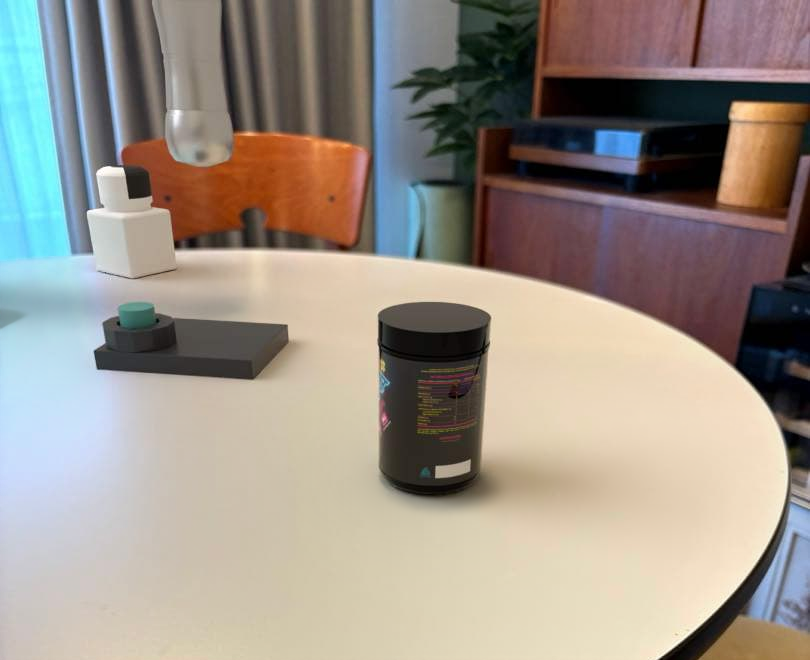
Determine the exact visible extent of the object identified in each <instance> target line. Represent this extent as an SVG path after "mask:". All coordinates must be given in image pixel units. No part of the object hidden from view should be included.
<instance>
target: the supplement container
mask: <svg viewBox="0 0 810 660" xmlns="http://www.w3.org/2000/svg"><path fill="white" fill-rule="evenodd" d="M491 329H492V316H491V314H490V313H489V312H487V311H486V310H483V309H481V308H479V307H475V306H473V305H468V304H463V303H457V302H447V301H415V302H413V301H412V302H406V303H405V302H404V303H399V304H394V305H391V306H388V307H386V308H383V309H381V310H380V311H379V312H378V313H377V340H376V342H377V347H378V349H377V350H378V353H377V354H378V356H377V357H378V469H379V472H380V474H381V476H382V477H383V479H384V480H385V481H386V482H387V483H388V484H389V483H390V484H389V485H390V486H392V487H394V486H395V487H396V488H395V487H394V488H395V489H397V488H398V490H400V491H402V490H404V491H403V492H405V491H408V492H407V493H409V492H412V493H411V494H414V493H417V494H416V495H421V494H443V495H447V494H446V493H450V494H452V493H451V492H454V493H457V492H456V491H458V490H460V491H463V490H465V489H466V487H467V488H469V487H470V486H471V485H473V483H474V482H475V481H476V480H477V479H478V477H479V475H480V474H481V471H482V459H483V458H482V457H483V444H484V442H483V441H484V429H485V428H484V427H485V414H486V413H485V412H486V398H487V397H486V395H487V383H488V365H489V350H490V347H491ZM469 485H470V486H469ZM464 488H465V489H464ZM462 489H463V490H462ZM458 492H459V491H458Z"/></svg>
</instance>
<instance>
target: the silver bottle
mask: <svg viewBox="0 0 810 660" xmlns="http://www.w3.org/2000/svg"><path fill="white" fill-rule="evenodd" d="M151 5H152V9H153V13H154V19H155V22H156V27H157V31H158V36H159V41H160V48H161V54H162V56H163V60H162V61H163V67H164V80H165V81H164V82H165V106H166V112H165V117H164V118H165V119H164V135H165V136H164V138H165V141H166V145H167V149H168V152H169V154H170V156H171V157H172V159H173V160H174V161H175V162H178V163H183V164H185V165H189V166H194V167H196V168H209V167H212V166H216V165H218V164H222V163H225V162H228V161H230V159H231V157H232V156H233V153H234V147H235V146H234V145H235V134H234V133H235V132H234V129H233V123H232V119H231V116H230V115H231V114H230V113H229V112H228V109H229V108H228V102H227V95H226V88H225V82H224V75H223V62H222V61H223V60H222V57H221V56H222V37H221V36H222V13H223V3H222V0H151Z"/></svg>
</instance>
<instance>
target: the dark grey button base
mask: <svg viewBox="0 0 810 660" xmlns="http://www.w3.org/2000/svg"><path fill="white" fill-rule="evenodd" d="M155 316H156V323H157V324H156V325H152V326H148V327H140V328H128V327H121V325H120V319H119V315H116V316H112V317H109V318H108V319H106V320H104V321H102V323H101V324H102V325H101V326H102V330H103V337H104V343H102V345H100V346H98V347H97V348H95V349H94V350H93V356H94V357H93V358H94V362H95V368H96V370H101V371H118V372H130V373H131V372H133V373H146V374H147V373H148V374H163V375H177V376H190V377H191V376H192V377H205V378H206V377H207V378H219V379H220V378H221V379H235V380H236V379H237V380H251V381H252V380H254V379H255V378H256V377H257V376H258V375H259V374H260V373H261V371H263V370H264V368H266V367H267V366H268V364H269V363H271V362H272V360H274V358H275V357H276V356H277V355H278V354H279V353H280V352H281V351H282V350H283V348H285V346H286V345H287V344H288V343H289V342H290V339H289V324H286V323H269V322H253V321H251V322H250V321H237V320H236V321H233V320H216V319H201V318H200V319H198V318H182V317H172V316H170V315H167V314H164V313H159V312H155Z"/></svg>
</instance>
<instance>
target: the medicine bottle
mask: <svg viewBox="0 0 810 660" xmlns="http://www.w3.org/2000/svg"><path fill="white" fill-rule="evenodd" d="M95 175H96V176H95V177H96V182H97V183H96V184H97V188H98V195H99V200H100V204H101V205H103V207H100V208H94V209H89V210H87V212H86V218H87V223H88V224H87V225H88V230H89V235H90V240H91V248H92V253H93V257H94V264H95V265H94V266H95V269H96V271H98V272H102V273H105V272H106V274H110V275H113V276H114V275H115V276H118V275H119V276H120V277H122V278H128V279H137V278H138V279H139V278H141V277H147V276H150V275H155V274H160V273H164V272H169V271H173V270H174V271H175V270H176V269H177V259H176V250H175V242H174V235H173V234H174V233H173V228H172V227H173V225H172V217H171V212H170V210H169V209H167V208H162V207H161V208H160V207H155V206H151V204H152V203H153V202H154V200H153V193H152V192H153V191H152V186H151V178H150V177H151V176H150V172H149V171H148V170H147V169H146V168H144V167H142V166H140V165H130V164H118V165H117V164H116V165H107V166H103V167H101V168H100V169H98V170H97V171H96V173H95ZM119 276H118V277H119Z"/></svg>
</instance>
